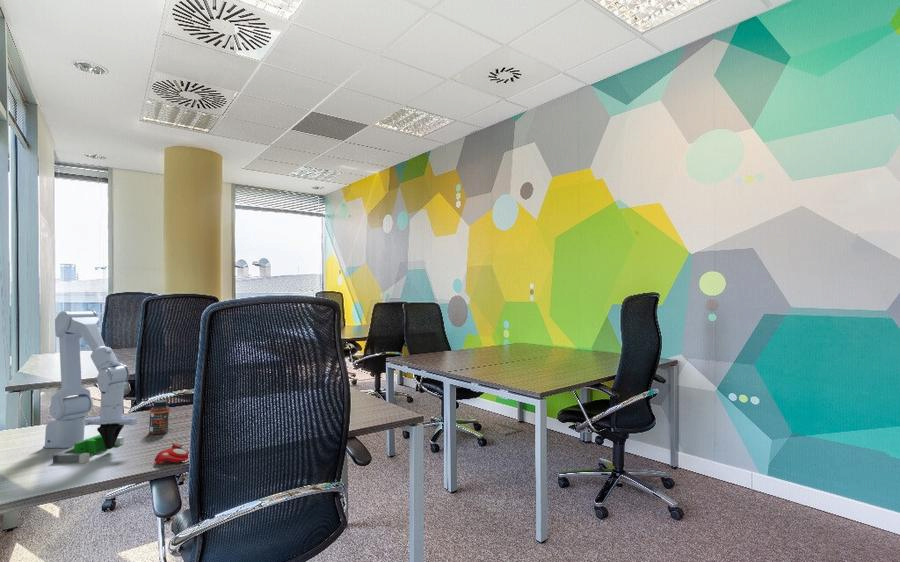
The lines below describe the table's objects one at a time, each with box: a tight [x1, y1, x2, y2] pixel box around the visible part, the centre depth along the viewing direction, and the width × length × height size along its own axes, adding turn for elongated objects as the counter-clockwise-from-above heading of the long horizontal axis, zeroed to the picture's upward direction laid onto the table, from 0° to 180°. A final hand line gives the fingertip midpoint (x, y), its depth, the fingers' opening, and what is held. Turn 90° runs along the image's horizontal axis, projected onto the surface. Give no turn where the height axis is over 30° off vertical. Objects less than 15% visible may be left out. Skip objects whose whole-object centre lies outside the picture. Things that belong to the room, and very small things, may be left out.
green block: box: [74, 434, 109, 456], centre depth 140 cm, size 11×4×5 cm, turn 175°
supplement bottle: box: [148, 399, 171, 435], centre depth 161 cm, size 6×6×11 cm
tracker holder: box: [154, 442, 190, 466], centre depth 135 cm, size 12×4×10 cm
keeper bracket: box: [52, 436, 125, 464], centre depth 139 cm, size 9×17×2 cm, turn 4°
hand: (109, 447), depth 139 cm, fingers closed
